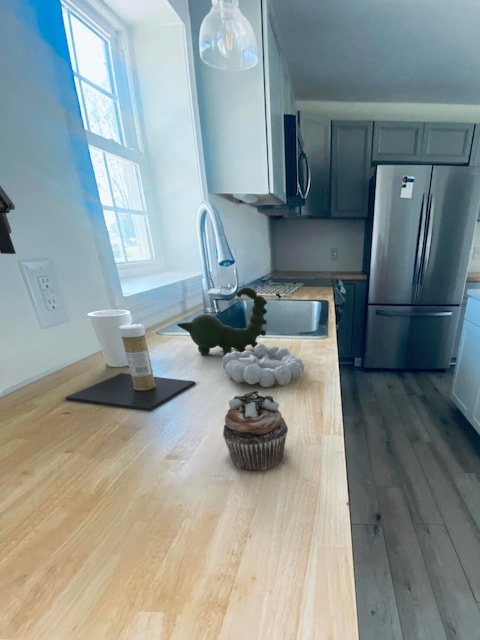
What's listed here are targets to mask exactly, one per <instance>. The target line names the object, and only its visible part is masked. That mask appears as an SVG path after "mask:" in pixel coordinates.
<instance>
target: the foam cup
mask: <svg viewBox="0 0 480 640" xmlns="http://www.w3.org/2000/svg"><path fill="white" fill-rule="evenodd" d="M86 316H87V319H88V323H89V325H90V327H91V328H92V330H93V333H94V335H95V337H96V340H97V343H98V345H99V347H100V349H101V351H102V355H103V356H104V359H105V361H106V363H107V365H108V366H109V367H110V368H111V367H113V368H123V367H129V365H128V361H127V357H126V353H125V347H124V343H123V339H122V337H121V336H120V331H119V327H120V326H122V325H127V324H132V322H133V318H132V315H131V311H130V310H127V309H103V310H96V311H95V310H94V311H91V312H88V313H87V314H86Z"/></svg>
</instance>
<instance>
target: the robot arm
mask: <svg viewBox="0 0 480 640" xmlns="http://www.w3.org/2000/svg"><path fill="white" fill-rule="evenodd" d="M14 210H16V205H15V204H14V202H12V200H11V198H10V197H9V196H8V194H7V193H6V191H5V190H4V189H3V187H2V186H1V185H0V254H3V255H5V254H7V255H16V254H17V253H16V250H15V247H14V244H13V241H12V239H11V235H10V234H12V228H11V225H10V221H9V219H8V216H7V214H10V213H11V211H14Z"/></svg>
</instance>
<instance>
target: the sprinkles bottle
mask: <svg viewBox="0 0 480 640" xmlns="http://www.w3.org/2000/svg"><path fill="white" fill-rule="evenodd" d="M119 331H120V336H121V337H122V339H123V343H124V347H125V353H126V357H127V361H128V365H129V366H128V369H129V374H131V376H132V380H133V384H134V389H135V390H138V391H147V390H151V389H153V388H155V387H156V384H155V381H154V377H155V376H154V370H153V365H152V361H151V358H150V354H149V350H148V345H147V340H146V331H145V326H144V325H143V324H140V323H131V324H127V325H122V326H120V327H119Z"/></svg>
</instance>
